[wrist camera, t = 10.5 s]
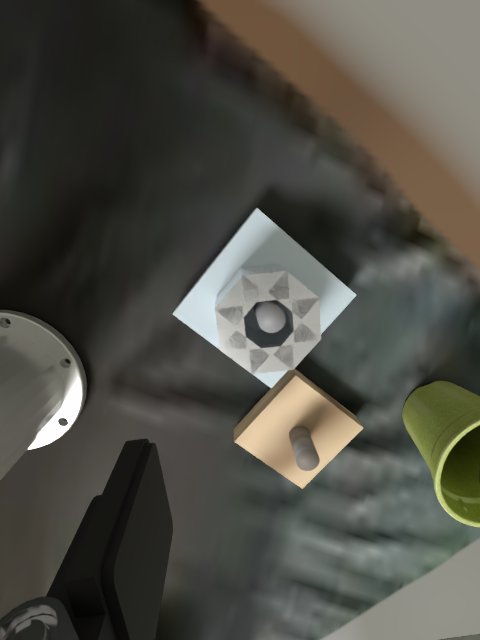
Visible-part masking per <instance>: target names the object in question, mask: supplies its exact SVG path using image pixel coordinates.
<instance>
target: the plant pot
mask: <svg viewBox="0 0 480 640" xmlns="http://www.w3.org/2000/svg"><path fill="white" fill-rule="evenodd" d="M402 416H403V421H404V424H405V427H406V429H407V431H408V432H409V434H410V436H411V438H412V439H413V441H414V442H415V444H416V446H417V448H418V449H419V451H420V453H421V454H422V456H423V458H424V460H425V461H426V463H427V465H428V467H429V468H430V470H431V474H432V478H433V480H434V489H435V493H436V496H437V498H438V500H439V502H440V504H441V505H442V507H443V508H444V509H445V511H446V512H447V513H448V514H449V515H451V516H452V517H453V518H455V519H456V520H458V521H460V522H462V523H465V524H468V525H471V526H474V527H480V482H479V470H480V396H478V395H476V394H474V393H472V392H470V391H468V390H466V389H464V388H462V387H460V386H457V385H455V384H453V383H451V382H446V381H434V382H433V383H431V384H428V385H425V386H423V387H419V388H417V389H416V390H415V391H413V393H412V394H411V395H410V396H409V397H408V399H407V400H406V402H405V404H404V408H403V413H402Z"/></svg>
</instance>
